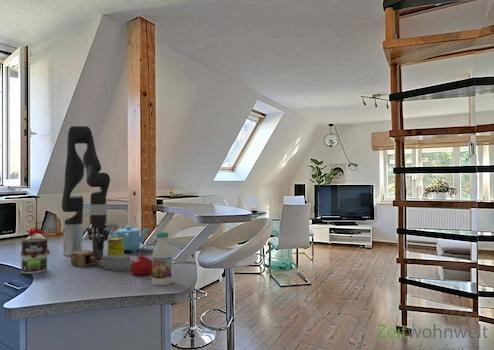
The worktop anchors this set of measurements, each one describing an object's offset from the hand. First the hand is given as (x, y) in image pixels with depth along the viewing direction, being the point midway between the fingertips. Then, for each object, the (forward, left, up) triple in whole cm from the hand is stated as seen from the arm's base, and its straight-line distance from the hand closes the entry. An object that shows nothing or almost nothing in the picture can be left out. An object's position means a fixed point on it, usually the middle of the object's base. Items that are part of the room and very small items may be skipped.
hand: (98, 249), depth 171 cm
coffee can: (-19, -19, -8) cm, 28 cm away
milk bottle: (+48, -10, -8) cm, 50 cm away
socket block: (-10, 0, -8) cm, 13 cm away
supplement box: (-4, +15, -8) cm, 18 cm away
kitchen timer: (-59, +7, -8) cm, 60 cm away
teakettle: (-16, +36, -8) cm, 40 cm away
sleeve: (+12, 0, -8) cm, 15 cm away
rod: (+5, 0, -7) cm, 9 cm away
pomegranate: (+30, -2, -8) cm, 31 cm away
